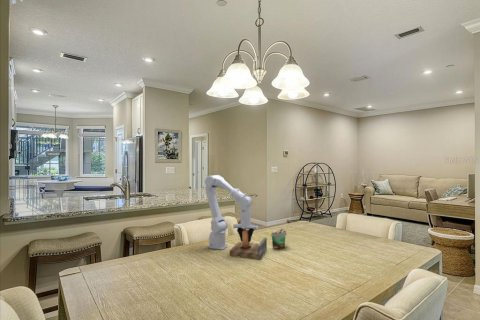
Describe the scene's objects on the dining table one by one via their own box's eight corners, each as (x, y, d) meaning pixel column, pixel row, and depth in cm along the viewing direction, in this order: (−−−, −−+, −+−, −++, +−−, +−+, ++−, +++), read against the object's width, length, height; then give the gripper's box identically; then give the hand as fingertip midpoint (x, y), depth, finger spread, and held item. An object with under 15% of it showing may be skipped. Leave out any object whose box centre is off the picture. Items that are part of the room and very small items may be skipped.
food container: (280, 251, 153) (280, 234, 153) (271, 249, 156) (271, 232, 156) (290, 246, 162) (290, 229, 162) (281, 244, 166) (281, 228, 166)
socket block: (229, 255, 146) (229, 243, 146) (238, 246, 161) (238, 235, 161) (260, 259, 141) (260, 246, 141) (266, 249, 156) (266, 237, 156)
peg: (241, 247, 150) (241, 231, 150) (243, 245, 154) (243, 229, 154) (247, 248, 149) (247, 232, 149) (250, 245, 152) (250, 230, 152)
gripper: (231, 218, 150) (231, 242, 150) (256, 220, 146) (256, 244, 146) (235, 215, 157) (235, 238, 157) (259, 217, 152) (259, 240, 152)
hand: (245, 241), depth 152 cm, fingers closed on peg, 4 cm apart
